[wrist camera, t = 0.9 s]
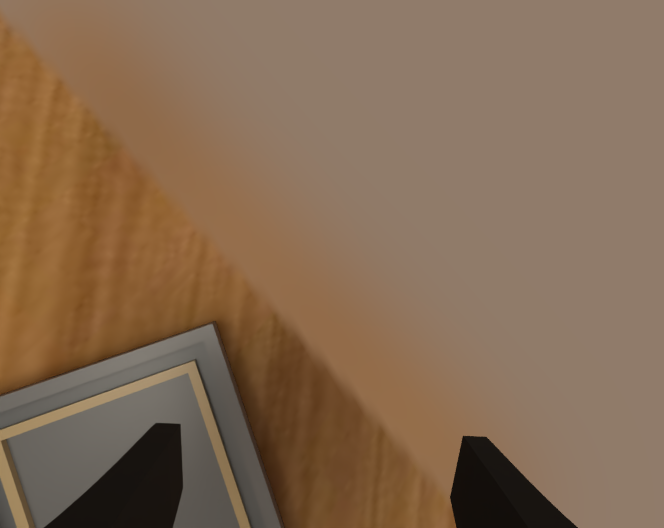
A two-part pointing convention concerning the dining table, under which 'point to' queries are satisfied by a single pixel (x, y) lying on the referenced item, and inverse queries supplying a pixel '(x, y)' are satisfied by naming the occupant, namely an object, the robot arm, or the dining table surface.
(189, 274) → the dining table surface
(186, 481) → the walled box
